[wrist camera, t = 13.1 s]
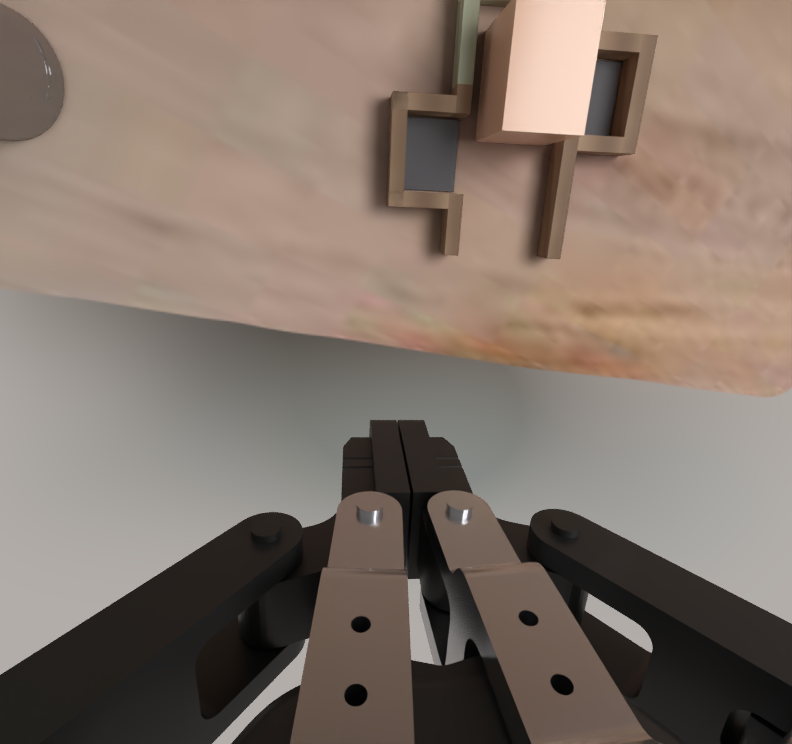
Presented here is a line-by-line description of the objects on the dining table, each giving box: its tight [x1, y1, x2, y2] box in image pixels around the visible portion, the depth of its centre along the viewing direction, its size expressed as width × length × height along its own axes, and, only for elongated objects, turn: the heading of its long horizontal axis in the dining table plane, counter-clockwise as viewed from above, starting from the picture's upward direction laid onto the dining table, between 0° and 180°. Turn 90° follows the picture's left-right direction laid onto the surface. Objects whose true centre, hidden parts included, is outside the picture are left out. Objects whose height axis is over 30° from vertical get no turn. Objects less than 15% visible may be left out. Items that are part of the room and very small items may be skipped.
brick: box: [475, 0, 606, 146], centre depth 37 cm, size 6×8×8 cm
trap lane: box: [387, 0, 658, 259], centre depth 40 cm, size 20×20×2 cm
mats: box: [404, 61, 622, 192], centre depth 41 cm, size 18×11×1 cm, turn 88°
